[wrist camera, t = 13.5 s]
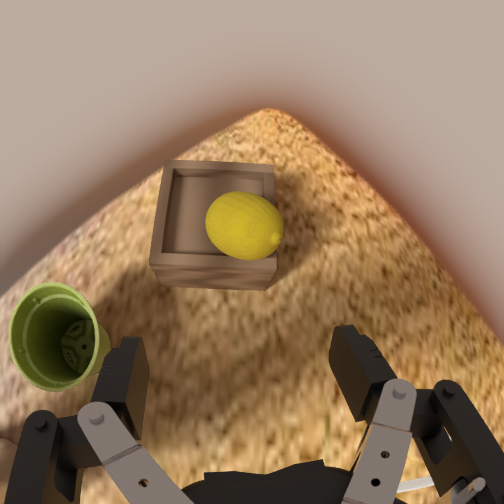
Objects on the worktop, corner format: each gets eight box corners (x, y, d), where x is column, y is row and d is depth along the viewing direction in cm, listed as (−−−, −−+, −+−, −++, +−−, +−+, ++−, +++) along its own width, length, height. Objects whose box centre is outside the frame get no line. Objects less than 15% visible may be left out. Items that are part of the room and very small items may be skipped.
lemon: (219, 248, 32) (283, 279, 27) (178, 232, 27) (243, 266, 22) (242, 196, 31) (309, 218, 27) (204, 173, 27) (275, 192, 22)
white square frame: (457, 395, 32) (481, 394, 28) (445, 479, 27) (467, 486, 23) (382, 399, 31) (403, 400, 27) (367, 494, 27) (386, 506, 22)
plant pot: (96, 288, 32) (64, 260, 24) (144, 358, 30) (119, 351, 22) (38, 335, 29) (-5, 320, 21) (81, 406, 27) (41, 411, 19)
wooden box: (162, 286, 34) (148, 263, 27) (173, 198, 38) (165, 160, 31) (264, 291, 35) (276, 269, 28) (264, 202, 39) (273, 165, 32)
